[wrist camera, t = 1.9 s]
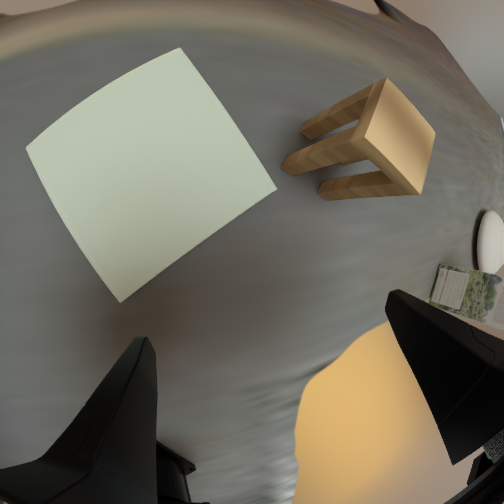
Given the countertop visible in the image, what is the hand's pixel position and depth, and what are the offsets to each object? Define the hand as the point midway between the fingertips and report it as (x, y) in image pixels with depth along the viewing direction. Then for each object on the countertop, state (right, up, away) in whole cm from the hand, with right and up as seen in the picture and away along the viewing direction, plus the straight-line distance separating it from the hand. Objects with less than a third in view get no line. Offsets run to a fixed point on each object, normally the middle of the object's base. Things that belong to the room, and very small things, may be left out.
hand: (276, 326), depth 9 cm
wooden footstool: (+5, +10, +13) cm, 17 cm away
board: (-8, +9, +8) cm, 15 cm away
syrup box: (+25, -2, +21) cm, 33 cm away
